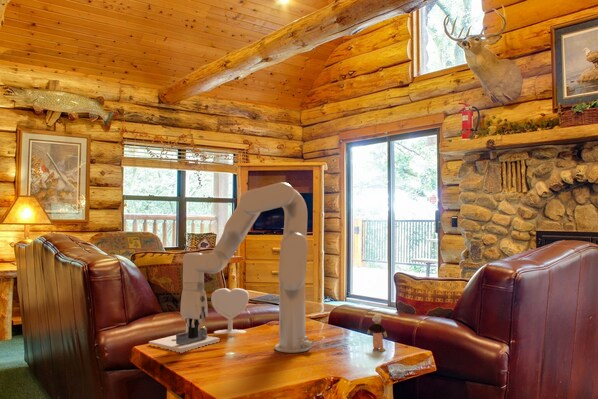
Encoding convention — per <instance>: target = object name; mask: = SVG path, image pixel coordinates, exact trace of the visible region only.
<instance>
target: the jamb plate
mask: <svg viewBox="0 0 598 399" xmlns="http://www.w3.org/2000/svg"><path fill="white" fill-rule="evenodd" d="M199 328H200V325H199V326H198V329H199ZM185 332H188V327H187V323H186V324H185ZM219 341H221V339H220V337H216V336H211V335H207V338H205V339H200V340H196V341H192V342H188V343H185V344H181V345H178V344H176V334H175V335H171V336H166V337H163V338H158V339H154V340H150V341H148V345H149V344H153V345H157V346H160V347H163V348H166V349H169V350H168V351H170V350H172V351H171V352H175V351H176V353H179V352H180V354H182V353H185V351H186V352H189V351H192V350H191V349H193V350H195V349H194V348H197V349H199V348H198V347H200V348H203V347H202V346H204V347H206V346H205V345H207V346H209V345H208V344H211V345H213V344H212V343H214V344H217V343H216V342H218V343H220V342H219ZM166 349H165V350H166ZM188 350H189V351H188Z"/></svg>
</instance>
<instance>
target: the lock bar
mask: <svg viewBox="0 0 598 399" xmlns="http://www.w3.org/2000/svg"><path fill="white" fill-rule="evenodd" d="M175 335H176V344H178V345H181V344H185V343H188V342H192V341H196V340H200V339H205V338H207V336H208V328H207V327H206V326H199V329H198V337H197V338H193V339H191V338H188V332H186V331H184V332H179V333H176V334H175Z"/></svg>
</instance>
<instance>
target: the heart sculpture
mask: <svg viewBox="0 0 598 399" xmlns="http://www.w3.org/2000/svg"><path fill="white" fill-rule="evenodd" d="M249 298H250V295H249V291H247V290H246V289H244V288H239V287H235V288H233V289H229V288H226V287H224V288H223V287H221V288H218V289H215V291H213V292H212V293H211V297H210V300H211V305H212V307H213V308H214V310H215V312H217V313H218V314H219V315H220V316H222V317H224V318H225V319H227V329H219V330H215V331H213V333H214V334H245V333H247V330H244V329H233V319H234V318H235V317H237V316H238V315H240V314H241V313H242V312H243V311H245V309H246V308H247V306H248V304H249Z"/></svg>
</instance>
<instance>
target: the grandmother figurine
mask: <svg viewBox="0 0 598 399" xmlns="http://www.w3.org/2000/svg"><path fill="white" fill-rule="evenodd" d="M371 321H373V323H374V324H371V325H370V326H369V327H368V328H367V329H368V330H367V332H366V333H367V335H369V334H371V332H372V345H373V346H372V347H373V348H372V351H375V352H376V351H378V352H386V348H384V341H383V340H384V339H383V338H387V337H388V335H387V331H386V329H385V327H384V326H383V325H382V324H381V323H382V315H381V314H380V313H377V314H374V315H373V317H372V320H371Z"/></svg>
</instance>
